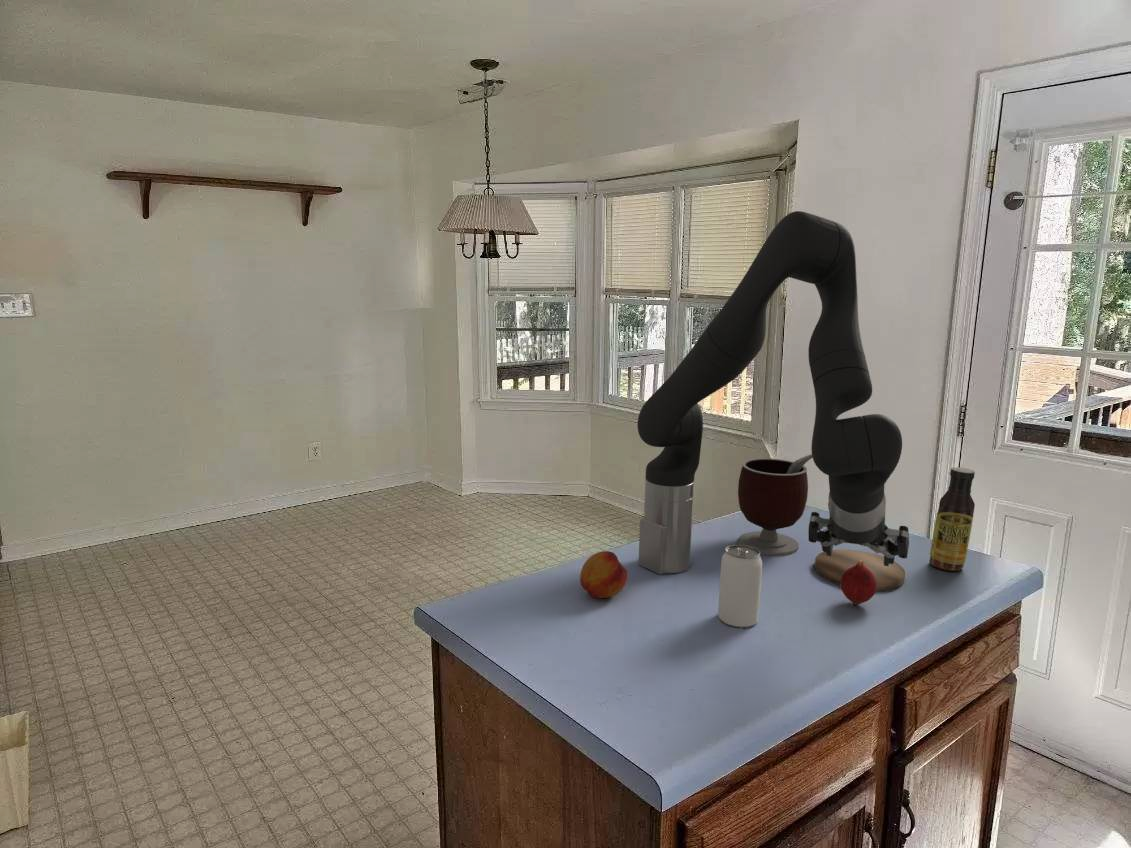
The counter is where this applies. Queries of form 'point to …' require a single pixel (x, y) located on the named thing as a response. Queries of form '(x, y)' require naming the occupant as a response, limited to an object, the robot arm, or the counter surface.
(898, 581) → the walnut board
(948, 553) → the sauce bottle
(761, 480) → the mate gourd
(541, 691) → the counter surface
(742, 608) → the can
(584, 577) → the fruit
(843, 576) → the onion
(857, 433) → the robot arm
